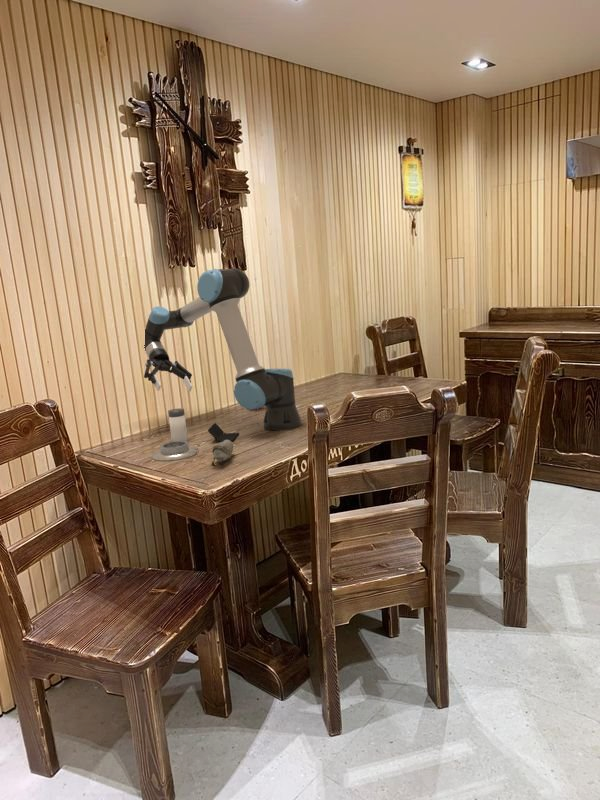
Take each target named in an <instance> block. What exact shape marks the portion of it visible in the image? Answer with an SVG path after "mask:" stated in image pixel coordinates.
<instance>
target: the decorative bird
mask: <svg viewBox="0 0 600 800" xmlns="http://www.w3.org/2000/svg"><path fill="white" fill-rule="evenodd" d="M233 450H234V445H233V442H231V441H230V440H224V441H223V442H220V443H218V442H217V444H216V445H214V446H213V447H212V455H213V461H212V460H211V465H210V467H213V468H217V465H216V464H215V460H216V461H217V462H220V463H219V465H218V468H219V467H221V468H222V469H223V466H224V468H225V467H226V466H225V464H223V462H225V461H227V460H228V459H230V458H231V457H232V453H233Z"/></svg>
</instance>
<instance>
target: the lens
mask: <svg viewBox="0 0 600 800" xmlns="http://www.w3.org/2000/svg"><path fill="white" fill-rule="evenodd" d="M167 414H168V422H169V428H170V430H169V431H170V437H171V442H172V441H187V442H188V440H189V439H188V430H187V424H186V413H185V409H184V408H182V407H181V408H172V409H169V410H167Z"/></svg>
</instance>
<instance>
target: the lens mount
mask: <svg viewBox="0 0 600 800" xmlns="http://www.w3.org/2000/svg"><path fill="white" fill-rule="evenodd" d="M189 444H190V443H189V441H188V440H187V441H172V440H171V441H168V442H165V443H163V444H161V445H160V446H159V449H157V450H154V451H153V452H152V454H151V457H152V459H153V460H154V461H157V460H158V462H159V461H160V462H172V461H173V462H174V461H180V460H184V459H188V458H190V457H193V456H195V455H197V454H198V453H199V447H198V446H197V445H193V444H191V445H189Z"/></svg>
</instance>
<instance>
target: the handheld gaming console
mask: <svg viewBox="0 0 600 800" xmlns="http://www.w3.org/2000/svg"><path fill="white" fill-rule="evenodd" d="M207 431H208V433H209V434H210V435H211V437H213V438H214V439H215V441H217V444H218V443H220V442H223V441H224V440H230V441H231V442H232V443H234V442H235V441H236V439H238V437H239V436H240V432H227V433H226V432H225V431H223V429H222V428H221V427H220V426H219V425H218V424H217V423H216V422H214V423H213V424H212V425H211V426H210V427H209V428H208V429H207Z"/></svg>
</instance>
